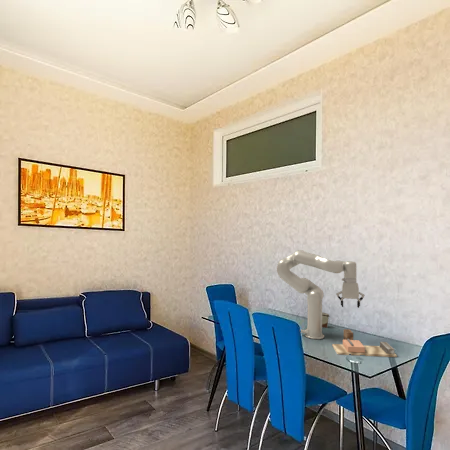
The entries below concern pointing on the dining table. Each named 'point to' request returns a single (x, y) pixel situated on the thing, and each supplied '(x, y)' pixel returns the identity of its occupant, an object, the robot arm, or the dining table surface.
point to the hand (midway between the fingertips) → (350, 307)
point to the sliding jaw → (353, 346)
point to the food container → (325, 320)
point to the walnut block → (348, 334)
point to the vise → (368, 350)
